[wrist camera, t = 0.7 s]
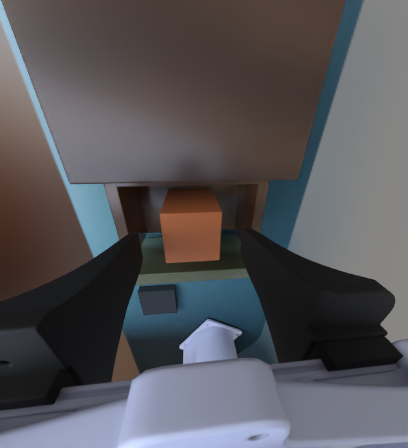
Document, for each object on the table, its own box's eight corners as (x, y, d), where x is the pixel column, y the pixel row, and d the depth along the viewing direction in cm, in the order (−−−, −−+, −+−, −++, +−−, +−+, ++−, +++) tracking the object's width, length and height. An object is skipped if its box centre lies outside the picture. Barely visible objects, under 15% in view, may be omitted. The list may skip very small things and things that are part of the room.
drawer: (241, 249, 21) (258, 286, 16) (140, 255, 20) (125, 295, 15) (253, 160, 16) (283, 172, 11) (120, 161, 15) (87, 175, 10)
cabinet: (255, 162, 17) (298, 180, 11) (117, 163, 16) (69, 184, 9) (276, 8, 12) (384, -141, 6) (79, -5, 11) (-80, -210, 4)
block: (210, 227, 18) (219, 260, 13) (171, 228, 18) (165, 263, 13) (211, 188, 16) (222, 211, 11) (167, 190, 16) (159, 214, 11)
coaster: (177, 306, 27) (176, 312, 26) (145, 309, 26) (143, 315, 25) (174, 284, 24) (174, 289, 23) (139, 286, 24) (137, 292, 23)
